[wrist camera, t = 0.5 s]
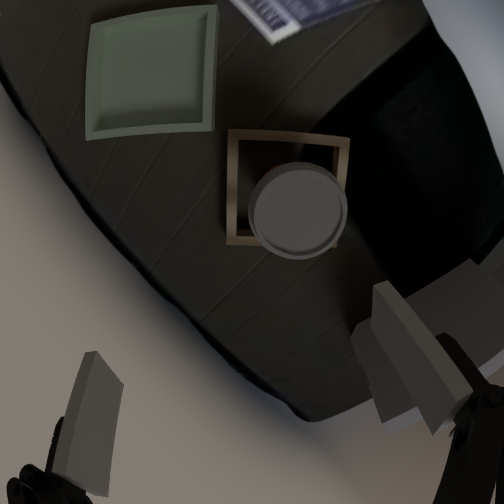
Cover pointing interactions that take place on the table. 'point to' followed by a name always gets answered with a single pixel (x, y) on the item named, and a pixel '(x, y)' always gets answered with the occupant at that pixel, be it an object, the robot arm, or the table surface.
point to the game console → (437, 321)
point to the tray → (152, 73)
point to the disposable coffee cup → (297, 210)
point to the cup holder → (235, 135)
